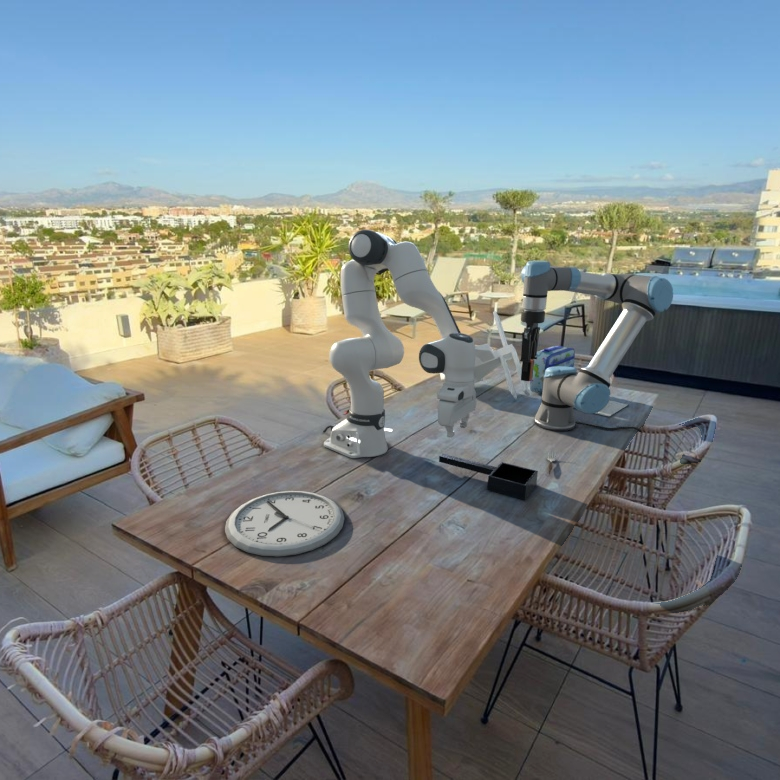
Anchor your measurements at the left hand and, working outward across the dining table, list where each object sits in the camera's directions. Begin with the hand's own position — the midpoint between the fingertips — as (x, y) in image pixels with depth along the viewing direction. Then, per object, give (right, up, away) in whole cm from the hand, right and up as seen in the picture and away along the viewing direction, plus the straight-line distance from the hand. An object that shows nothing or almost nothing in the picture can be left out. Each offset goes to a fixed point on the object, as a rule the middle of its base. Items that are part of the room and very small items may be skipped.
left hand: (457, 431), depth 160 cm
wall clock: (-47, -21, -25) cm, 58 cm away
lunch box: (+55, +12, +88) cm, 104 cm away
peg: (+26, +16, +17) cm, 35 cm away
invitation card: (+71, +5, +67) cm, 98 cm away
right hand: (+26, +16, +17) cm, 35 cm away
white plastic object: (+21, +12, +84) cm, 87 cm away
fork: (+32, -12, +10) cm, 35 cm away
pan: (+8, -15, -1) cm, 17 cm away
